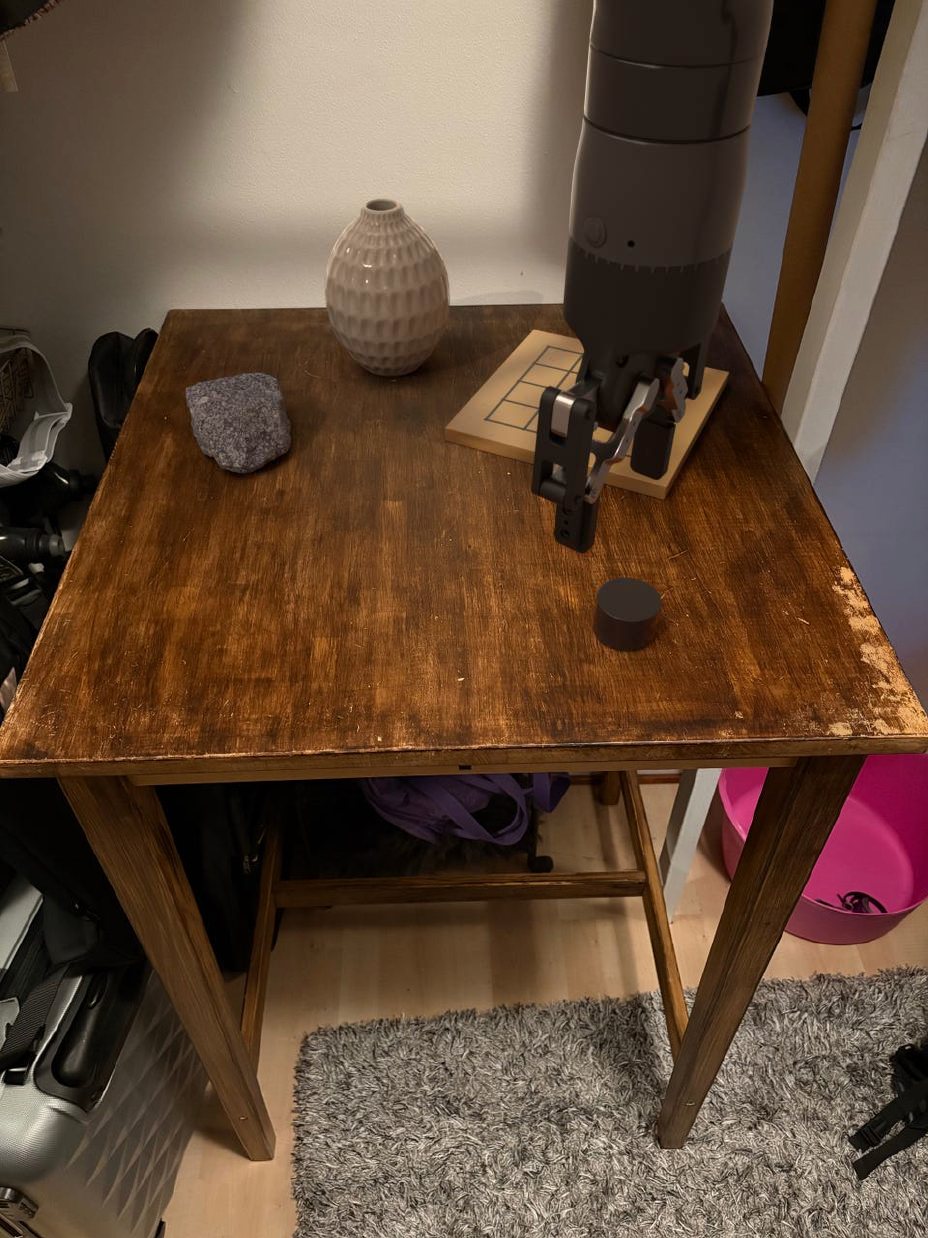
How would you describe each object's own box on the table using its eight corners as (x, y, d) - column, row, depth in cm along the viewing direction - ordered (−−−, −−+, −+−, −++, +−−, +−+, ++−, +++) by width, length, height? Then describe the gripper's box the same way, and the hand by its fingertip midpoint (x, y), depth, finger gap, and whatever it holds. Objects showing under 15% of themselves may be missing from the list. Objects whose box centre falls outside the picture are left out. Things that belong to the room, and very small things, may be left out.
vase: (469, 378, 96) (469, 218, 84) (353, 403, 93) (337, 240, 81) (426, 326, 105) (420, 173, 93) (318, 347, 101) (299, 191, 89)
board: (726, 384, 95) (729, 371, 94) (664, 500, 81) (667, 485, 80) (533, 341, 102) (533, 328, 101) (444, 440, 88) (444, 426, 87)
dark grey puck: (663, 618, 70) (669, 588, 68) (644, 659, 67) (650, 629, 65) (604, 600, 72) (609, 570, 70) (583, 639, 69) (587, 609, 66)
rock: (167, 388, 86) (261, 349, 89) (185, 432, 91) (274, 393, 93) (214, 453, 80) (315, 409, 83) (231, 498, 84) (326, 454, 87)
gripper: (648, 304, 36) (605, 601, 47) (791, 196, 44) (724, 472, 55) (494, 257, 39) (488, 546, 50) (653, 164, 47) (617, 431, 59)
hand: (612, 507), depth 53 cm, fingers open, 8 cm apart
